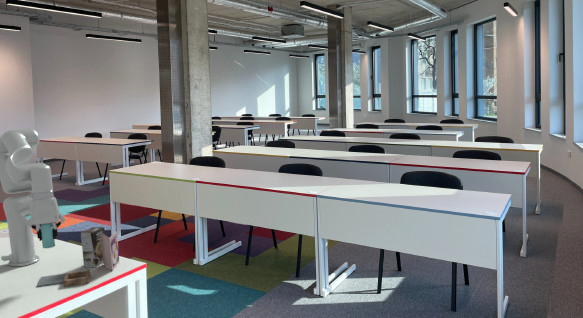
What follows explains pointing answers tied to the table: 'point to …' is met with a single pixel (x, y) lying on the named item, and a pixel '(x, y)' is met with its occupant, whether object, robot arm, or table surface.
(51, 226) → the peg
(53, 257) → the table surface
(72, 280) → the pocket
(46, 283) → the mat
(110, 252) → the greeting card
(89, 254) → the coffee box
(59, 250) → the table surface
